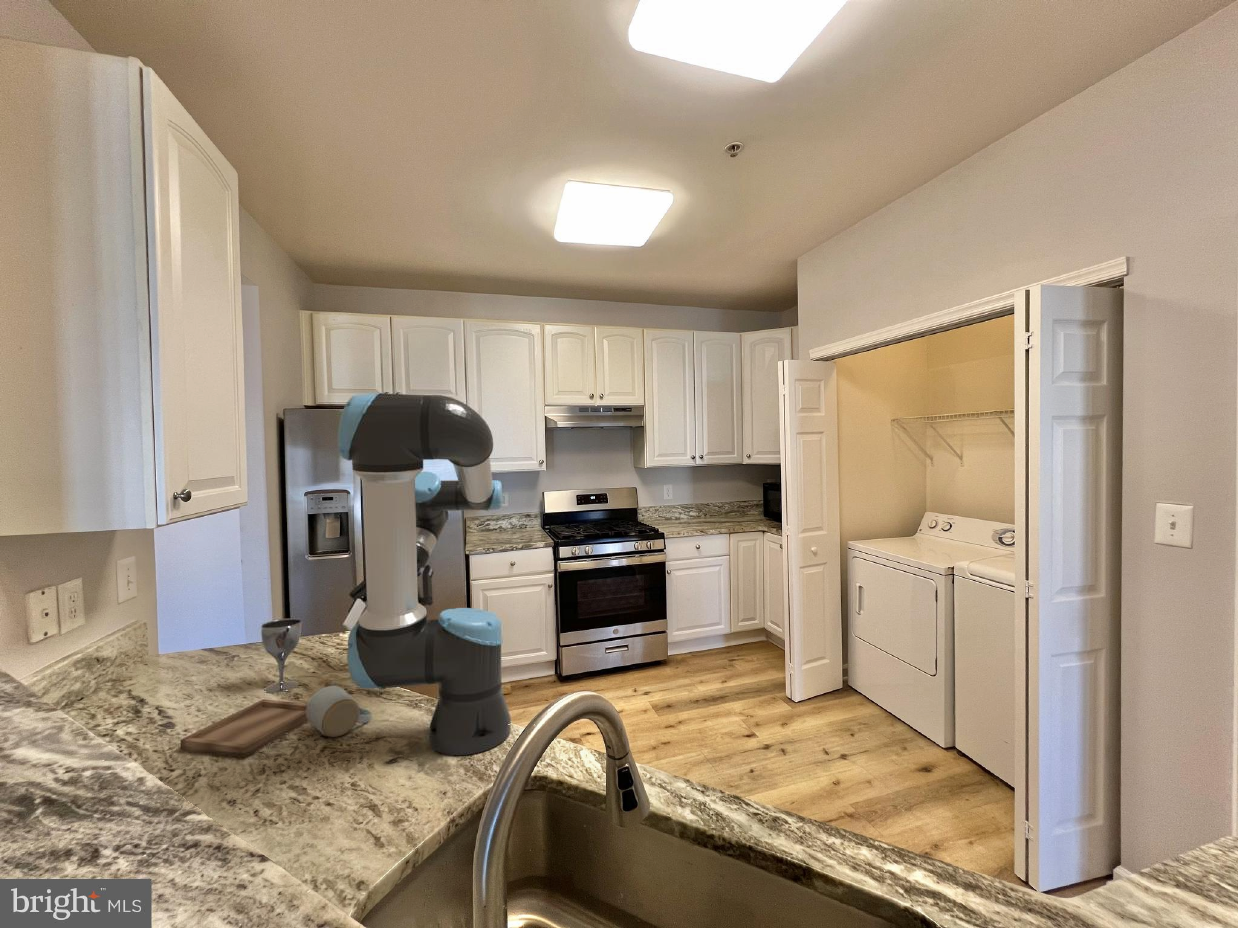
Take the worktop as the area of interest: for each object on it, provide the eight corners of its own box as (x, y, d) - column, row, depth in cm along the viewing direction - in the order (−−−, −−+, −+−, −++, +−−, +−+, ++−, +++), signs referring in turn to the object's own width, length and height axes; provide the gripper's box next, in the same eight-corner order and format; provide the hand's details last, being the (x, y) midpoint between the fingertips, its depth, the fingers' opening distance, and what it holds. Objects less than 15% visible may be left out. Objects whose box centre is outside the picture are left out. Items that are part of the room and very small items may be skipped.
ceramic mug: (321, 745, 94) (322, 703, 94) (304, 731, 99) (305, 691, 100) (378, 724, 102) (379, 685, 103) (360, 712, 108) (361, 675, 108)
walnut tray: (319, 714, 106) (319, 704, 106) (244, 758, 90) (244, 747, 90) (263, 708, 109) (263, 699, 109) (180, 750, 93) (180, 739, 93)
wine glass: (303, 687, 120) (304, 623, 121) (262, 696, 115) (263, 630, 115) (298, 677, 126) (298, 616, 127) (258, 685, 121) (259, 622, 121)
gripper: (466, 561, 127) (432, 641, 112) (377, 557, 132) (333, 634, 117) (455, 542, 121) (418, 624, 107) (363, 539, 126) (315, 617, 112)
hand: (374, 629), depth 112 cm, fingers open, 13 cm apart
